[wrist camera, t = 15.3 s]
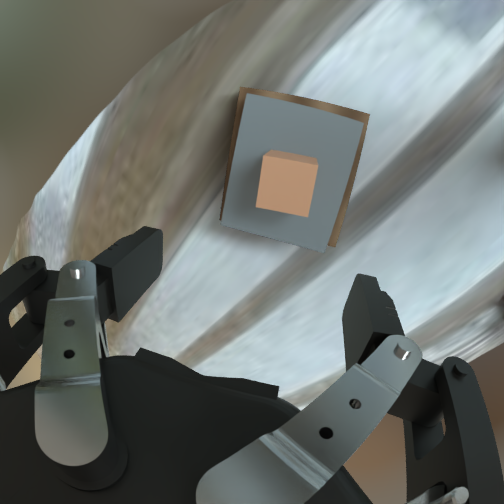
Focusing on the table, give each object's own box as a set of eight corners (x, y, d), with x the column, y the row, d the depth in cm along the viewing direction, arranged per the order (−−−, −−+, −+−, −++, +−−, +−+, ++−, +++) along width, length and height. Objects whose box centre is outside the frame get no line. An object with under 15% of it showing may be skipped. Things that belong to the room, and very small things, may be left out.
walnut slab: (363, 115, 34) (369, 114, 31) (333, 236, 42) (335, 247, 39) (246, 90, 36) (240, 86, 32) (227, 211, 44) (219, 220, 40)
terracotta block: (316, 157, 31) (318, 165, 25) (308, 200, 33) (307, 217, 27) (271, 149, 31) (263, 155, 26) (264, 192, 33) (255, 207, 28)
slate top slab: (358, 122, 31) (363, 123, 28) (323, 240, 39) (324, 253, 35) (253, 96, 32) (246, 93, 29) (228, 214, 40) (220, 224, 36)
